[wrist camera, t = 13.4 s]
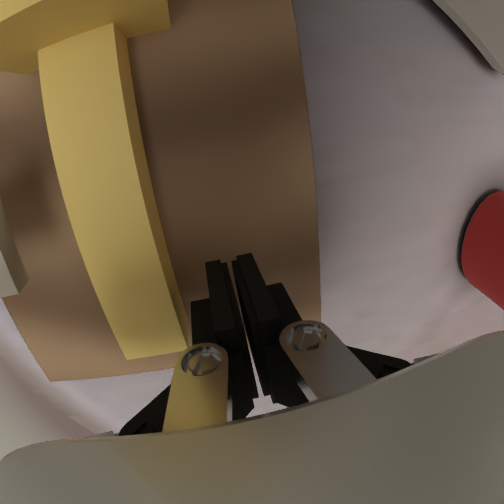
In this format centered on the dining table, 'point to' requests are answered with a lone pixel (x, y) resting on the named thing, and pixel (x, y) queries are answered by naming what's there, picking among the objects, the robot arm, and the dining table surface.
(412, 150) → the dining table surface
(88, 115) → the link
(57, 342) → the bracket base
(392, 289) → the dining table surface
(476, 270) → the beer can
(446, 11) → the soap bottle
